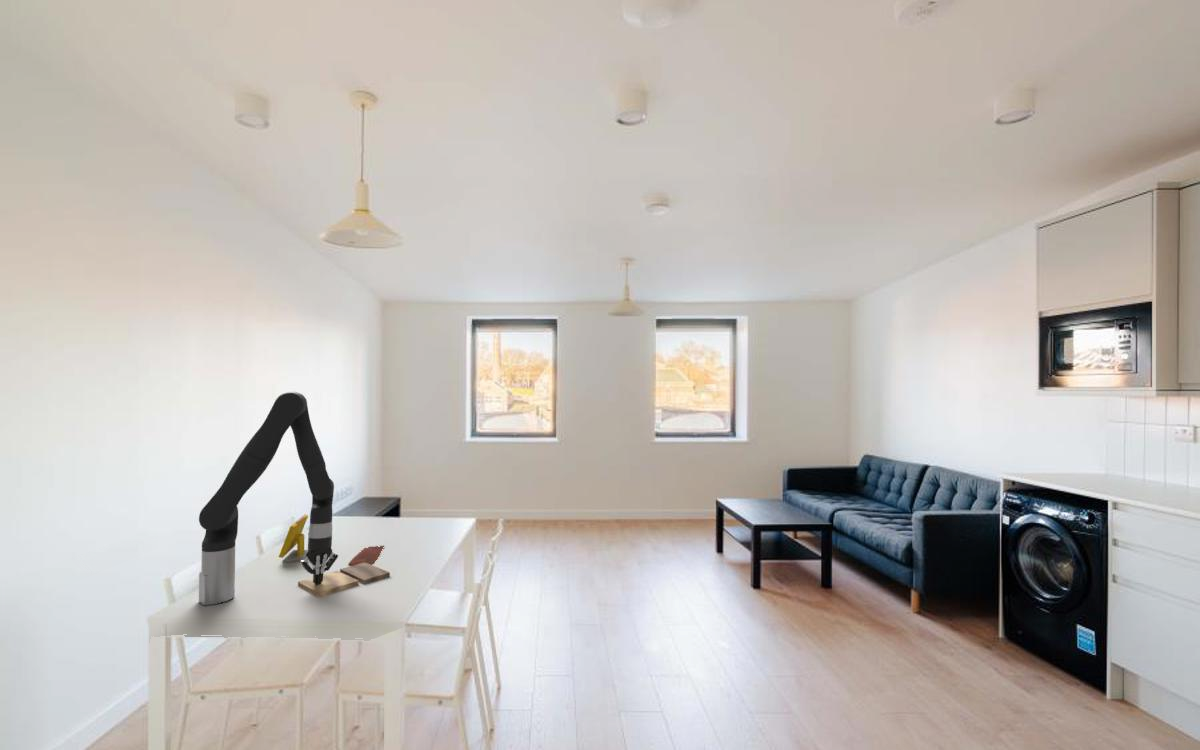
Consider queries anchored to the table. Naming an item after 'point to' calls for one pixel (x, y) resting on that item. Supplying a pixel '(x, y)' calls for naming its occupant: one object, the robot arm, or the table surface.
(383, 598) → the table surface
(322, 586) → the light wood board
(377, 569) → the walnut board
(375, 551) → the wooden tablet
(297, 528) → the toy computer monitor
